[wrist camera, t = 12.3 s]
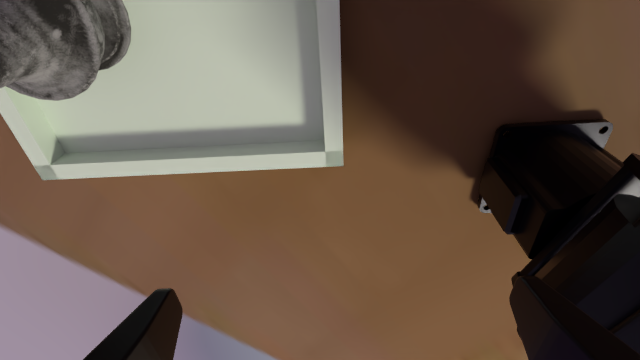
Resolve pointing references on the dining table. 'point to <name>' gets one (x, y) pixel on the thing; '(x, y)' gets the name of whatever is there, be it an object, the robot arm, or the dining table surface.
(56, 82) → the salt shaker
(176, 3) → the tray
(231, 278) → the dining table surface
